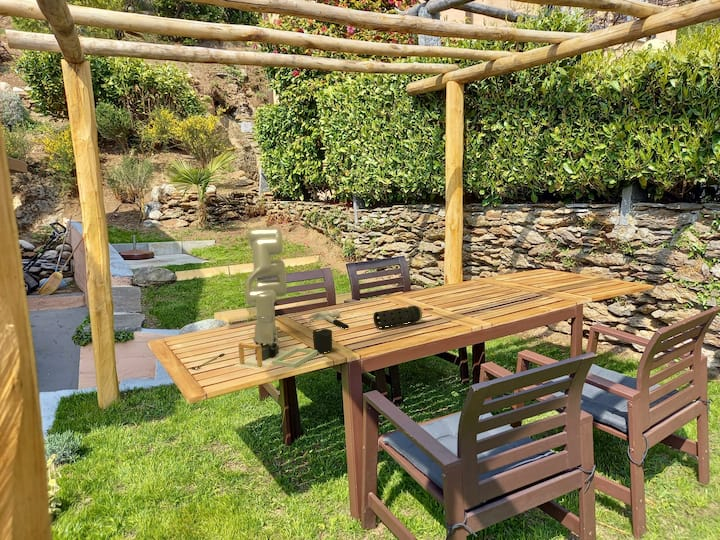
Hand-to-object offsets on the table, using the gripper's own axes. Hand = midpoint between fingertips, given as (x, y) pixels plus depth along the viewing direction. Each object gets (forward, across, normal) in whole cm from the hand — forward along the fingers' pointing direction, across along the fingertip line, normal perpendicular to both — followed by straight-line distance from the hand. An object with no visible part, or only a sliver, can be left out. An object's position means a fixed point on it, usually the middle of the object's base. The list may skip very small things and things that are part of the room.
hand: (267, 355), depth 224 cm
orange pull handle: (0, 0, -12) cm, 12 cm away
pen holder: (+1, +20, +18) cm, 27 cm away
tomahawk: (+2, -21, -14) cm, 26 cm away
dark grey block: (0, 0, 0) cm, 0 cm away
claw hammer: (+2, 0, +63) cm, 63 cm away
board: (+1, 0, -3) cm, 3 cm away
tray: (+1, +14, +2) cm, 15 cm away
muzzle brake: (+2, +38, +74) cm, 83 cm away
